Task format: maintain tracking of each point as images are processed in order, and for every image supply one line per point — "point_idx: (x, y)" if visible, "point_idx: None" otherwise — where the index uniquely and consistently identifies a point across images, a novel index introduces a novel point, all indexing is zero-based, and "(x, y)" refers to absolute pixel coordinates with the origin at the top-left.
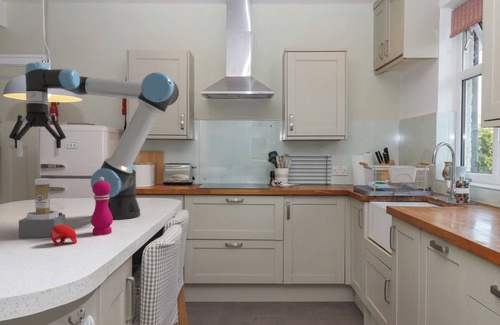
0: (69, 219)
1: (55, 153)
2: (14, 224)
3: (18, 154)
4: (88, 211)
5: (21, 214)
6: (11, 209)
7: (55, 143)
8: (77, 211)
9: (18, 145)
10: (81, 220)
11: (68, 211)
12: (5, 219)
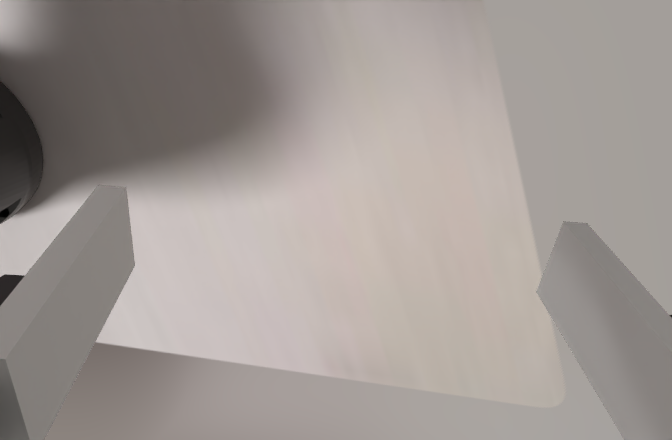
0: (205, 112)
1: (88, 208)
2: (444, 35)
3: (588, 237)
4: (190, 300)
5: (475, 285)
6: (541, 395)
7: (3, 306)
8: (244, 309)
9: (656, 322)
10: (127, 68)
11: (286, 316)
12: (517, 181)
